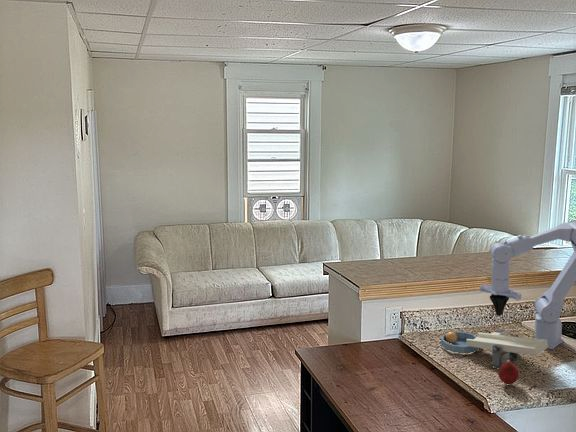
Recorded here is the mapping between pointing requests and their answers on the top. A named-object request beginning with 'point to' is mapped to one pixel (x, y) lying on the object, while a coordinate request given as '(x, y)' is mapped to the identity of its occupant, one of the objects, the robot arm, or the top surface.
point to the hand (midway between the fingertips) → (499, 314)
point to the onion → (508, 373)
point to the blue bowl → (459, 343)
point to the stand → (502, 360)
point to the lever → (508, 343)
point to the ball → (451, 337)
